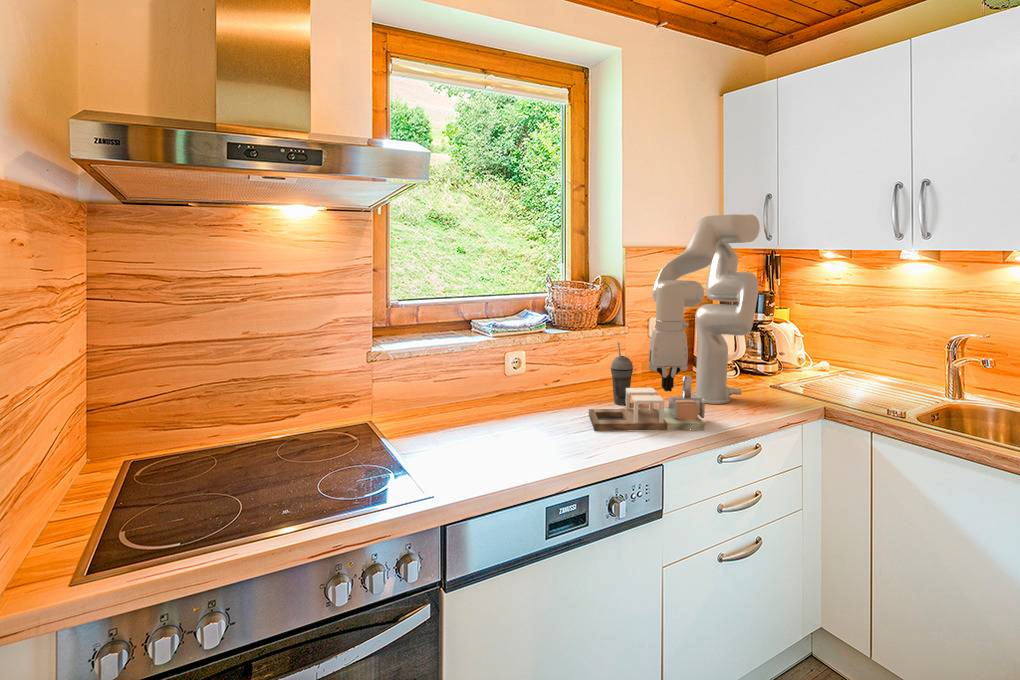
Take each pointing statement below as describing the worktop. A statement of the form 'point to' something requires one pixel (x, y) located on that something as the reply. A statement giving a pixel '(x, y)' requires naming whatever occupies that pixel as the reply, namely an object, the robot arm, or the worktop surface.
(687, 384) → the slider
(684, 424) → the board
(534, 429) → the worktop surface
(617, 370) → the beverage cup
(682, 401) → the block
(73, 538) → the worktop surface
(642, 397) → the toy bench
